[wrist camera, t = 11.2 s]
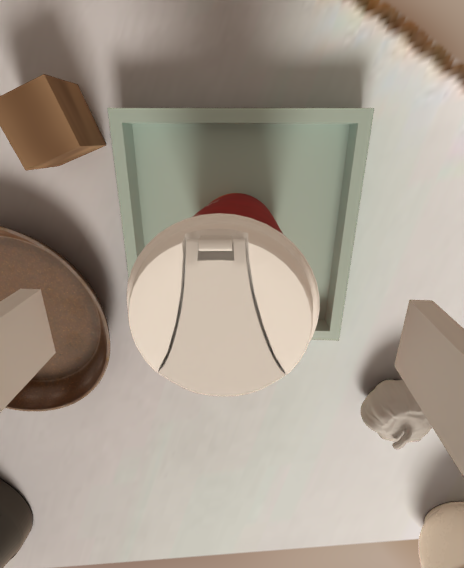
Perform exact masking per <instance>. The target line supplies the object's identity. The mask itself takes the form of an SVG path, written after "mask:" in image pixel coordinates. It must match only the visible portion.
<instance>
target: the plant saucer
mask: <svg viewBox="0 0 464 568" xmlns="http://www.w3.org/2000/svg"><path fill="white" fill-rule="evenodd" d="M19 289H41V293H42V297H43V301H44V306H45V310H46V314H47V318H48V322H49V327H50V331H51V335H52V339H53V343H54V348H55V352H56V353H55V354H54V355H53V356H52V357H51V358H50V360H49V361H48V362H47V363H46V364H45V365H44V366H43V367H42V368H41V369H40V370H39V371H38V373H37V374H36V375H35V376H34V377H33V378H32V379H31V380H30V381H29V382H28V383H27V384H26V386H25V387H24V388H23V389H22V390H21V391H20V392H19V393H18V394H17V395H16V396H15V397H14V399H13V400H12V401H11V402H10V403H9V404H8V405H7V406H6V407H5V408H9V409H14V410H21V411H48V410H55V409H59V408H63V407H66V406H69V405H71V404H74V403H76V402H77V401H79V400H81V399H82V398H84V397H85V396H87V395H88V394H89V393H90V392H91V391H92V390H93V389H94V388H95V387H96V386H97V385H98V383H99V382H100V381H101V379H102V377H103V375H104V373H105V371H106V368H107V365H108V361H109V356H110V336H109V329H108V324H107V320H106V317H105V314H104V311H103V308H102V306H101V304H100V302H99V300H98V298H97V296H96V294H95V293H94V291H93V289H92V288H91V286H90V285H89V284H88V282H87V281H86V280H85V278H84V277H83V276H82V275H81V274H80V273H79V271H78V270H77V269H76V268H75V267H74V266H73V265H72V264H71V263H69V262H68V261H67V260H66V259H65V258H64V257H62V256H61V255H60V254H58V253H57V252H56V251H54V250H53V249H51V248H50V247H48V246H47V245H45V244H43V243H41V242H40V241H38V240H36V239H33V238H31V237H29V236H27V235H25V234H22V233H20V232H17V231H15V230H11V229H8V228H5V227H2V226H0V301H2V300H4V299H5V298H7V297H8V296H10V295H11V294H13V293H14V292H16V291H18V290H19Z"/></svg>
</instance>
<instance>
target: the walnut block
mask: <svg viewBox="0 0 464 568" xmlns="http://www.w3.org/2000/svg"><path fill="white" fill-rule="evenodd" d="M0 126H1V128H2V130H3V132H4V133H5V135H6V137H7V139H8V140H9V142H10V144H11V146H12V147H13V149H14V151H15V153H16V154H17V156H18V158H19V160H20V161H21V163H22V165H23V167H24V168H25V170H33V169H40V168H48V167H55V166H60V165H62V164H65V163H67V162H69V161H71V160H74V159H76V158H78V157H81V156H83V155H85V154H87V153H90V152H92V151H94V150H97V149H99V148H101V147H103V146H106V143H105V141H104V139H103V137H102V135H101V133H100V131H99V129H98V127H97V124H96V122H95V120H94V118H93V116H92V114H91V112H90V110H89V108H88V105H87V103H86V101H85V99H84V97H83V95H82V93H81V91H80V89H79V87H78V84H74V83H71V82H68V81H65V80H61V79H58V78H55V77H52V76H48V75H45V74H43V75H41V76H39V77H37V78H35V79H33V80H31V81H29V82H27V83H25V84H23V85H21V86H19V87H17V88H16V89H14V90H12V91H10V92H8V93H6V94H4V95H2V96H0Z"/></svg>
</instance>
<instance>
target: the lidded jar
mask: <svg viewBox="0 0 464 568" xmlns="http://www.w3.org/2000/svg"><path fill="white" fill-rule="evenodd" d="M419 559H420V565H421V568H464V502H449V503H445V504H441V505H439V506H437V507H435V508H433V509H432V510H431V511H430V512H428V514H427V515H426V517H425V520H424V525H423V527H422V530H421V532H420V536H419Z"/></svg>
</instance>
